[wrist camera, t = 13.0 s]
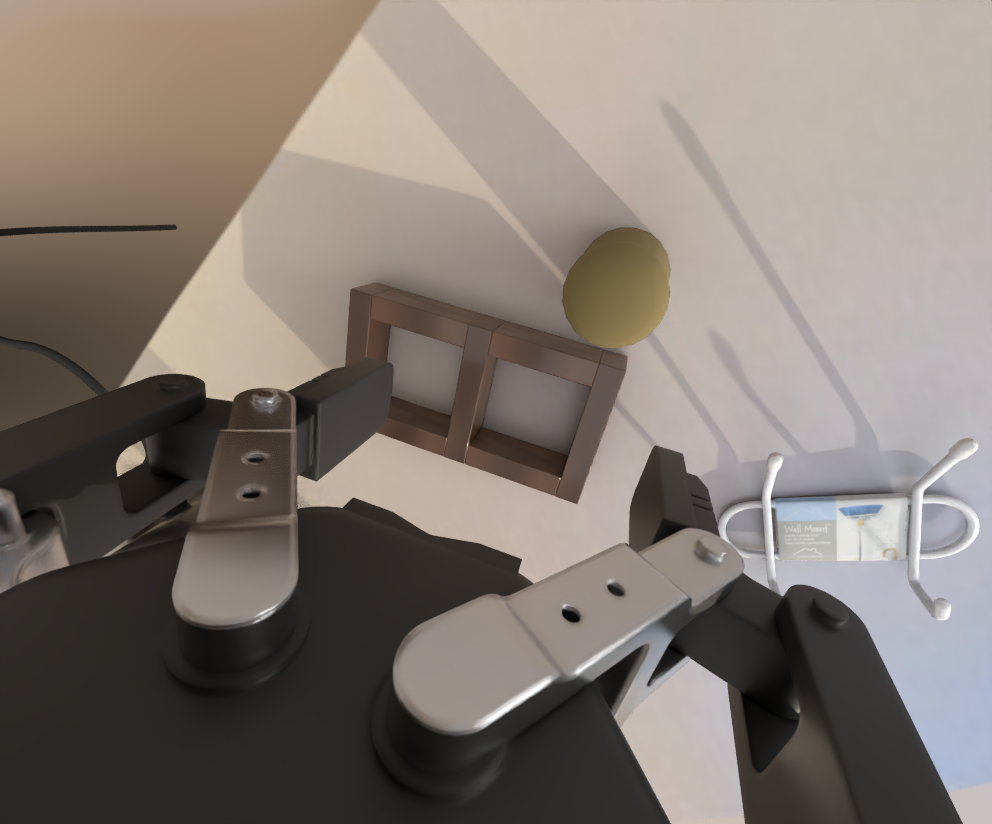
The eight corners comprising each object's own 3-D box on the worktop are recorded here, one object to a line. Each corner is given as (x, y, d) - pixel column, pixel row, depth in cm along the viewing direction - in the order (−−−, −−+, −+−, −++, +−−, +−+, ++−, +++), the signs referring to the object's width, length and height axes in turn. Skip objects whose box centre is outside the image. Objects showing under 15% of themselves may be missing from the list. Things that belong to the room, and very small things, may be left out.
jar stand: (363, 405, 42) (341, 420, 39) (374, 282, 37) (350, 288, 34) (582, 481, 38) (577, 504, 35) (627, 356, 33) (626, 371, 30)
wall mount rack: (722, 574, 38) (734, 630, 33) (705, 424, 34) (716, 461, 28) (967, 574, 32) (1027, 642, 27) (984, 394, 28) (1060, 434, 23)
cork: (590, 219, 31) (564, 221, 21) (683, 236, 29) (701, 248, 20) (569, 308, 33) (537, 347, 23) (653, 328, 32) (657, 377, 22)
